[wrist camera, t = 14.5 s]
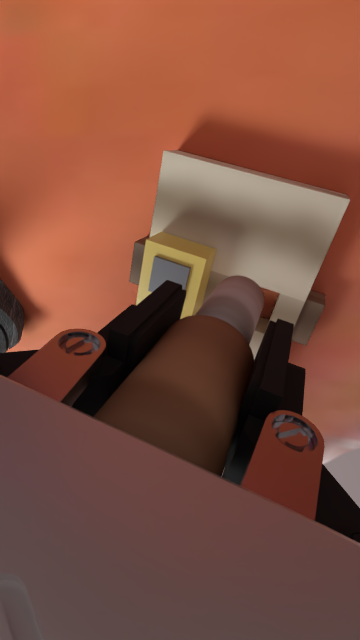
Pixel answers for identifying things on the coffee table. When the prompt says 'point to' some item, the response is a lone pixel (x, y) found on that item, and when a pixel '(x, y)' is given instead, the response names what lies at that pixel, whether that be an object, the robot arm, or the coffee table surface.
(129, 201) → the coffee table surface
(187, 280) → the block
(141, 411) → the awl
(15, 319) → the hammer
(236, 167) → the board
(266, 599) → the robot arm
